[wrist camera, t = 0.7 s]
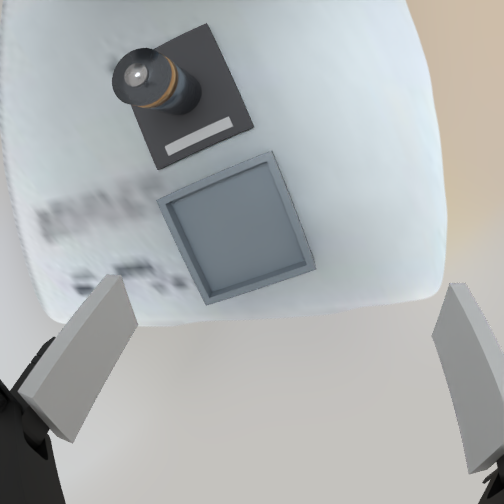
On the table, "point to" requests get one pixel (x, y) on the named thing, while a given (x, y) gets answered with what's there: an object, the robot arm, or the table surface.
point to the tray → (238, 230)
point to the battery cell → (155, 83)
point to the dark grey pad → (208, 109)
